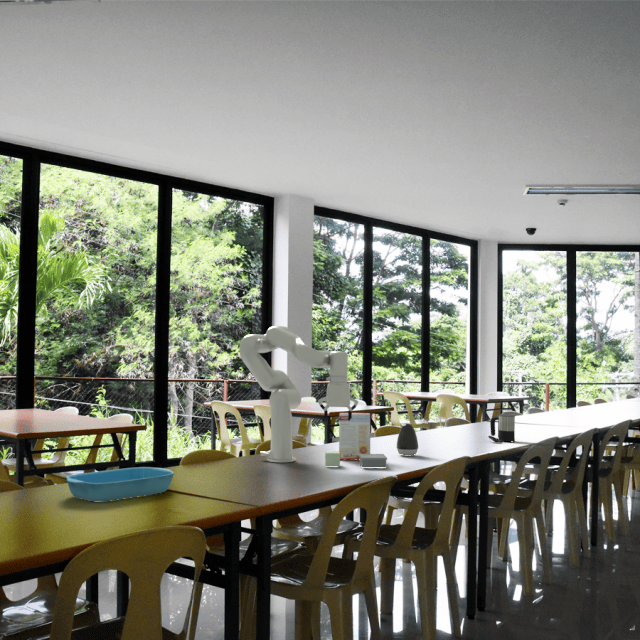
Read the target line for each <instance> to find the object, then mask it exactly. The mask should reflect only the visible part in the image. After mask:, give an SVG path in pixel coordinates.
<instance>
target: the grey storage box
mask: <svg viewBox="0 0 640 640" xmlns="http://www.w3.org/2000/svg"><path fill="white" fill-rule="evenodd" d="M359 457H360V460H359V463H360V465H361V466H362V467H386V468H387V460H388V457H387V456H386V455H385V454H384V453H370V454H359ZM360 465H359V466H360Z"/></svg>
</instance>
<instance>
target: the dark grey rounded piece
mask: <svg viewBox="0 0 640 640" xmlns="http://www.w3.org/2000/svg"><path fill="white" fill-rule="evenodd" d="M418 449H419V441H418V436H417V433H416V431H415V428H414V426H413V424H411V423H407V422H406V423H404V424H403V425H402V426H401V428H400V430H399V432H398V436H397V440H396V450H397V452H398V454H399V455H400V454H403V455H414V454H415V455H416V454H417V452H418ZM415 455H414V456H415Z"/></svg>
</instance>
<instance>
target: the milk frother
mask: <svg viewBox="0 0 640 640" xmlns="http://www.w3.org/2000/svg"><path fill="white" fill-rule="evenodd" d="M515 418H516V415H515V414H507V413H506V414H505V413H504V414H503V413H501V414H498V416H493V417H492V418H490V422H489V423H490V435H488V436H487V437H488V438H489V439H490V440H491V441H493V442H494V443H495V442H497V443H500V442H501V443H503V442H502V441H515V442H516V440H515V437H516V436H515V435H516V434H515V433H516V432H515V429H516V428H515V427H516V426H515V425H516V424H515V422H516V420H515ZM496 421H497V422H498V423H497V437H495V436H496Z"/></svg>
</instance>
